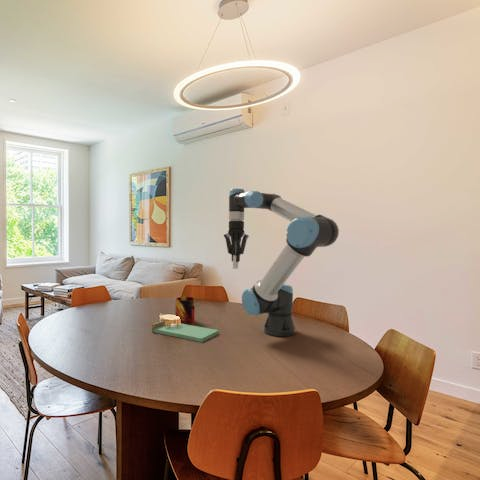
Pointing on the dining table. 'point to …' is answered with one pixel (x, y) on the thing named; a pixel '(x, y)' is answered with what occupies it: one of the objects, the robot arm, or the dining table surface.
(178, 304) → the mug
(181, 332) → the board with hole
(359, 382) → the dining table surface
